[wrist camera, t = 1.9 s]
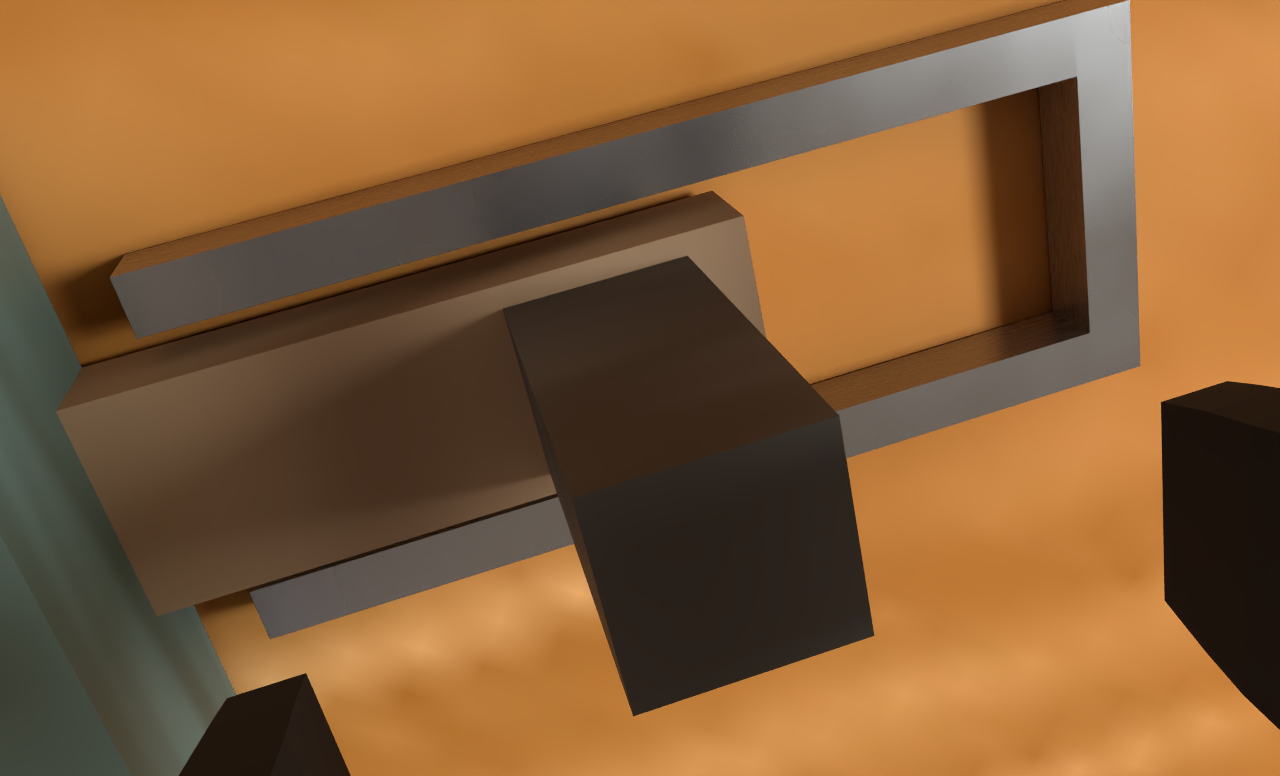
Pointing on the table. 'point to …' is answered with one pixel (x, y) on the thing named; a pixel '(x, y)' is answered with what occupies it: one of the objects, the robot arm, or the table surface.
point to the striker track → (689, 153)
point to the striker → (415, 473)
